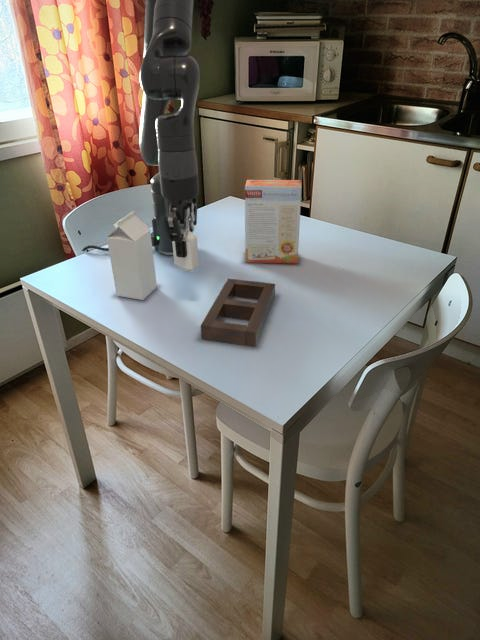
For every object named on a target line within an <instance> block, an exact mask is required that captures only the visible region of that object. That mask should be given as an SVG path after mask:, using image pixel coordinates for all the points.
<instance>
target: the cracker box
mask: <svg viewBox="0 0 480 640" xmlns="http://www.w3.org/2000/svg"><path fill="white" fill-rule="evenodd" d="M302 186H303V185H302V179H301V180H300V179H247V180H246V182H245V186H244V246H245V247H244V250H245V251H244V252H245V253H244V254H245V255H244V256H245V257H244V258H245V263H257V264H258V263H259V264H294V265H295V264H298V262H299V245H300V243H299V241H300V226H301V225H300V224H301V207H302V205H301V203H302Z"/></svg>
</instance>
